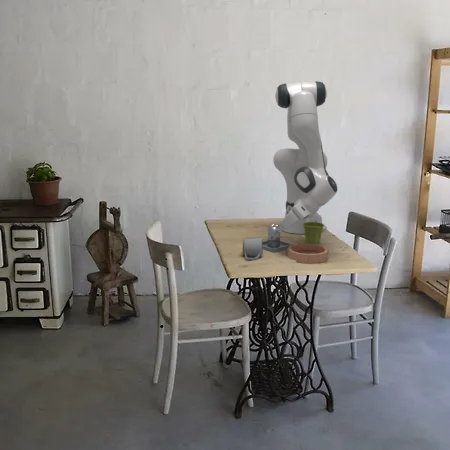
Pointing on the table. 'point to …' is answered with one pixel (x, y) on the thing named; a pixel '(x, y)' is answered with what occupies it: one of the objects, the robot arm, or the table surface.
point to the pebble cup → (273, 236)
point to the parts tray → (282, 247)
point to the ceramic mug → (253, 248)
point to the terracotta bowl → (308, 253)
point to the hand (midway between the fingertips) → (281, 228)
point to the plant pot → (313, 232)
